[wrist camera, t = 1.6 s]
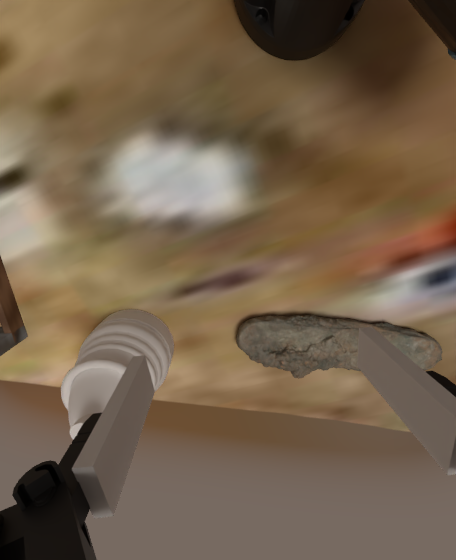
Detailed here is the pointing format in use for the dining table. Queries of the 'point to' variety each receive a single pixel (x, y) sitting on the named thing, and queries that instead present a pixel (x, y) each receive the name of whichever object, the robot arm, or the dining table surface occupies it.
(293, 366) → the long grey stone
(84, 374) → the honey pot
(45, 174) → the dining table surface
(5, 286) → the guide
